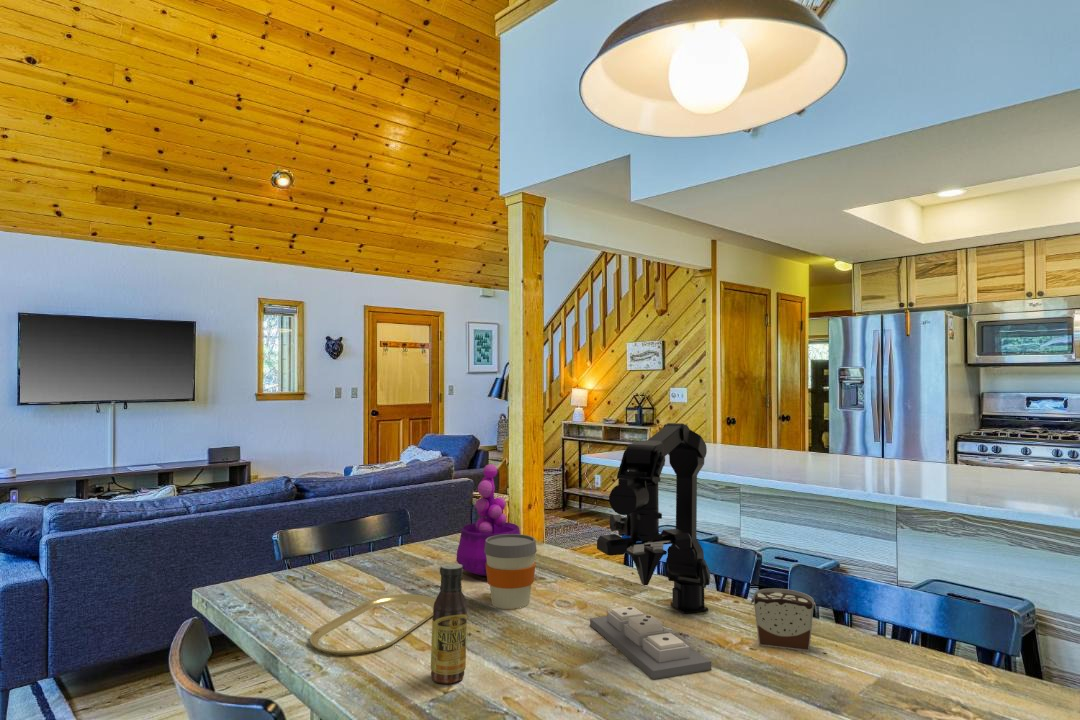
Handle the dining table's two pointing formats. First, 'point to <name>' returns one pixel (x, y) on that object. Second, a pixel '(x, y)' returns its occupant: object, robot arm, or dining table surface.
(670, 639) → the tile one dot
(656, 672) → the button panel
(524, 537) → the reusable coffee cup
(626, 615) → the tile two dots
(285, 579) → the dining table surface
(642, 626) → the tile three dots
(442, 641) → the sauce bottle
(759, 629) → the food container
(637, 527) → the robot arm
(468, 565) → the decorative plant
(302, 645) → the dining table surface
